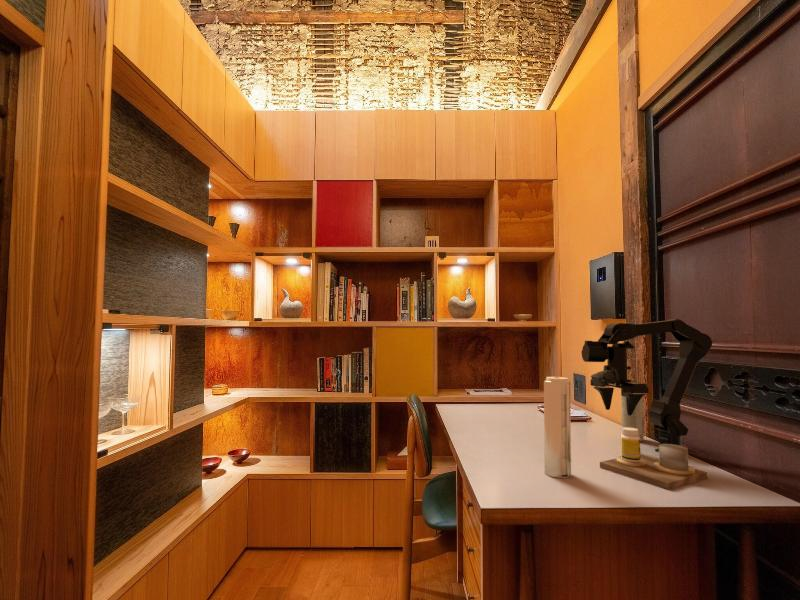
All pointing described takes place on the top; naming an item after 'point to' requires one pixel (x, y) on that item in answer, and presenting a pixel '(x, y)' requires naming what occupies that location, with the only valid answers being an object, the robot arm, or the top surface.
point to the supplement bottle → (630, 445)
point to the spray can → (633, 415)
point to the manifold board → (659, 468)
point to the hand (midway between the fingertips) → (618, 412)
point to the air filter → (557, 427)
